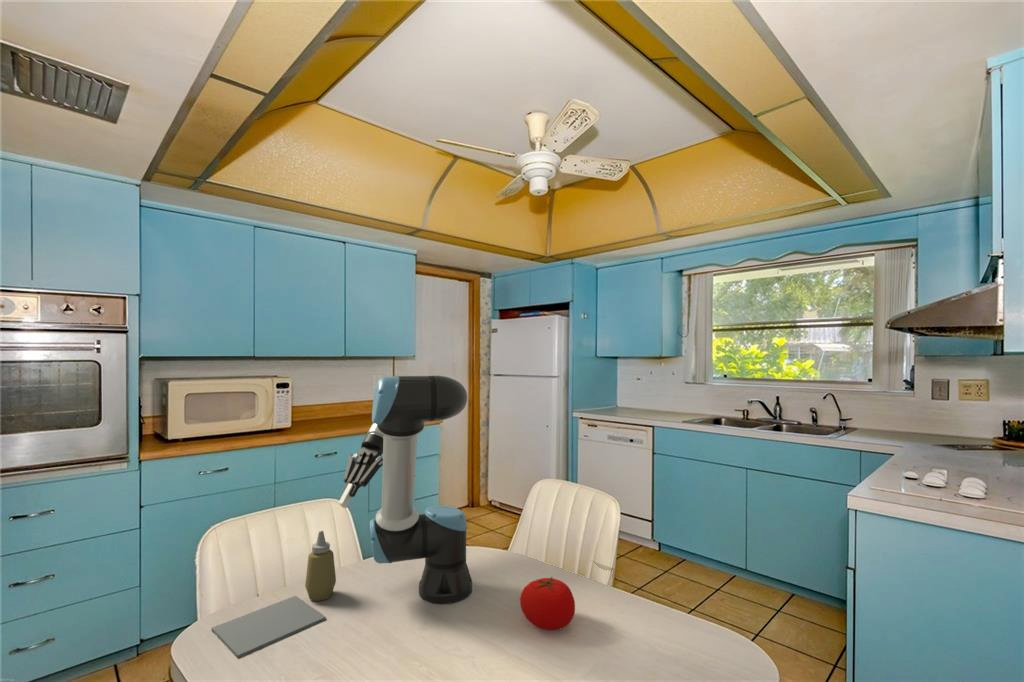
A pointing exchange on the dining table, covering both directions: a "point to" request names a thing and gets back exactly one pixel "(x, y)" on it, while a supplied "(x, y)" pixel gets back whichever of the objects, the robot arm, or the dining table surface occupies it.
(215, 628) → the rubber mat
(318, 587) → the squeeze bottle
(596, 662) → the dining table surface
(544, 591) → the tomato
